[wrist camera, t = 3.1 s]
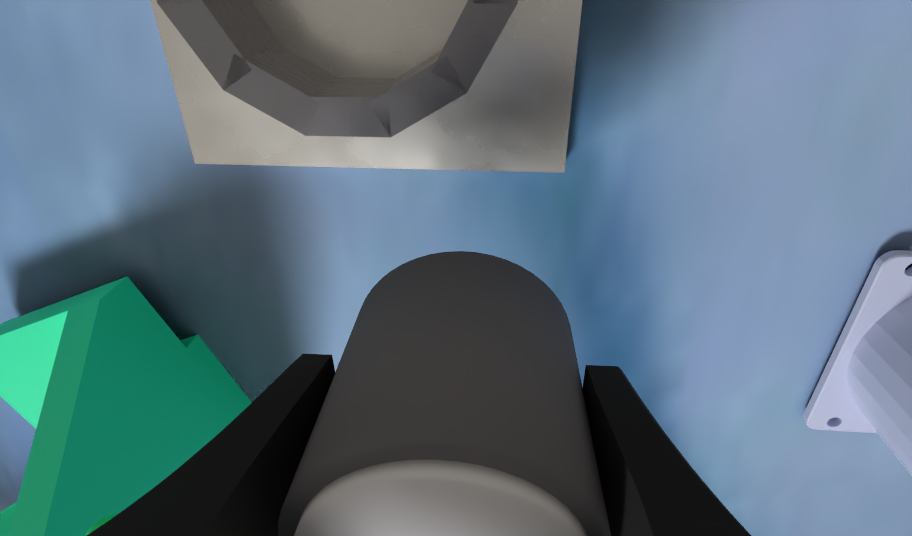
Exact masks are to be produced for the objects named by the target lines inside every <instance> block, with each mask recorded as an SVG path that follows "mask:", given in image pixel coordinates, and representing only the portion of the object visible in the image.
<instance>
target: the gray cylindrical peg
mask: <svg viewBox="0 0 912 536" xmlns="http://www.w3.org/2000/svg"><path fill="white" fill-rule="evenodd" d="M278 536H611V532H610V527H609V522H608V517H607V512H606V506H605V501H604V496H603V491H602V486H601V481H600V476H599V471H598V465H597V460H596V455H595V450H594V445H593V440H592V435H591V430H590V424H589V419H588V414H587V409H586V404H585V399H584V394H583V389H582V383H581V378H580V373H579V368H578V363H577V358H576V353H575V348H574V342H573V337H572V332H571V327H570V323H569V320H568V317H567V314H566V312H565V310H564V308H563V306H562V304H561V302H560V301H559V299H558V298H557V297H556V295H555V294H554V292H553V291H552V290H551V289H550V288H549V287H548V286H547V285H546V284H545V283H544V282H543V281H541V280H540V279H539V278H538V277H536V276H535V275H534V274H533V273H531V272H529V271H528V270H526V269H524V268H523V267H521V266H519V265H517V264H515V263H512V262H510V261H508V260H505V259H502V258H499V257H495V256H492V255H487V254H482V253H477V252H463V251H457V252H442V253H436V254H430V255H427V256H423V257H420V258H416V259H414V260H411V261H409V262H407V263H404V264H402V265H401V266H399V267H397V268H396V269H394V270H392V271H391V272H389V273H388V274H387V275H386V276H384V277H383V278H382V279H381V280H380V281H379V282H378V283H377V284H376V285H375V286H374V287H373V288H372V290H371V291H370V293H369V294H368V296H367V297H366V299H365V301H364V303H363V305H362V307H361V310H360V312H359V315H358V317H357V320H356V322H355V325H354V327H353V330H352V332H351V335H350V337H349V340H348V342H347V345H346V347H345V350H344V352H343V355H342V357H341V360H340V362H339V365H338V368H337V370H336V373H335V375H334V378H333V380H332V383H331V385H330V388H329V390H328V393H327V395H326V398H325V400H324V403H323V405H322V408H321V410H320V413H319V415H318V418H317V420H316V423H315V425H314V428H313V431H312V433H311V436H310V438H309V441H308V443H307V446H306V448H305V451H304V453H303V456H302V458H301V461H300V463H299V466H298V468H297V471H296V473H295V476H294V478H293V481H292V483H291V486H290V489H289V491H288V494H287V496H286V499H285V501H284V504H283V506H282V509H281V512H280V516H279V521H278Z"/></svg>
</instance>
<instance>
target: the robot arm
mask: <svg viewBox="0 0 912 536" xmlns="http://www.w3.org/2000/svg"><path fill="white" fill-rule="evenodd" d="M910 264H912V251H907V250H894V251H889V252H887V253H884V254H883V255H881V256H880V257H879V258H878V259H877V260H876V262H875V263H874V265H873V267H872V270H871V272H870V274H869V276H868V278H867V280H866V282H865V284H864V287H863V289H862V291H861V293H860V295H859V297H858V299H857V301H856V304H855V306H854V308H853V310H852V312H851V314H850V316H849V318H848V321H847V323H846V325H845V327H844V329H843V331H842V333H841V335H840V338H839V340H838V342H837V344H836V346H835V348H834V350H833V352H832V354H831V357H830V359H829V361H828V363H827V365H826V367H825V369H824V371H823V374H822V376H821V378H820V380H819V382H818V384H817V386H816V388H815V391H814V393H813V395H812V397H811V399H810V401H809V403H808V405H807V408H806V410H805V412H804V414H803V419H804V421H805V422H806V424H807V425H808V427H810V428H812V429H818V430H835V431H852V432H869V433H878V434H879V435H880V436H881V438H882V439H883V440H884V441H885V443H886V444H887V445H888V447H889V448H890V449H891V450H892V452H893V453H894V454H895V455H896V457H897V458H898V459H899V461H900V462H901V463H902V464H903V466H904V467H905V468H906V469H907V471H908V472H909V473H910V475H911V476H912V267H910V268H909V269H907V270H905V269H906V267H907V266H908V265H910ZM334 375H335V370H334V364H333V358H332V355H320V354H302V355H301V356H300V357H299V358H298V359H297V360H296V361H295V362H294V363H292V364H291V365H290V366H289V367H288V368H287V369H286V370H285V371H284V372H283V373H282V374H281V375H280V376H279V377H278V378H277V379H276V380H275V381H274V382H273V383H272V384H271V385H270V386H269V387H268V388H267V389H266V390H265V391H264V392H262V393H261V394H260V395H259V396H258V397H257V398H256V399H255V400H254V401H253V402H252V403H251V404H250V405H249V406H248V407H247V408H246V409H245V410H244V411H242V412H241V413H240V414H239V415H238V416H237V417H236V418H235V419H234V420H233V421H232V422H231V423H230V424H228V425H227V426H226V427H225V428H224V429H223V430H222V431H221V432H220V433H219V434H218V435H216V436H215V437H214V438H213V439H212V440H211V441H209V442H208V443H207V444H206V445H205V446H204V447H202V448H201V449H200V450H199V451H198V452H197V453H195V454H194V455H193V456H192V457H191V458H190V459H188V460H187V461H186V462H185V463H184V464H183V465H181V466H180V467H179V468H178V469H177V470H175V471H174V472H173V473H172V474H171V475H169V476H168V477H167V478H166V479H164V480H163V481H162V482H160V483H159V484H158V485H157V486H155V487H154V488H153V489H151V490H150V491H149V492H147V493H146V494H145V495H143V496H142V497H141V498H139V499H138V500H137V501H135V502H134V503H133V504H131V505H130V506H128V507H127V508H126V509H124V510H123V511H122V512H120V513H119V514H118V515H116V516H115V517H113V518H112V519H110V520H109V521H108V522H106V523H105V524H103V525H102V526H100V527H99V528H97V529H96V530H94V531H93V532H91V533H90V534H88V535H87V536H278V521H279V516H280V512H281V509H282V506H283V504H284V501H285V499H286V496H287V494H288V491H289V489H290V486H291V483H292V481H293V478H294V476H295V473H296V471H297V468H298V466H299V463H300V461H301V458H302V456H303V453H304V451H305V448H306V446H307V443H308V441H309V438H310V436H311V433H312V431H313V428H314V425H315V423H316V420H317V418H318V415H319V413H320V410H321V408H322V405H323V403H324V400H325V398H326V395H327V393H328V390H329V388H330V385H331V383H332V380H333V378H334ZM583 394H584V399H585V404H586V409H587V414H588V419H589V424H590V430H591V435H592V440H593V445H594V450H595V455H596V460H597V465H598V471H599V476H600V481H601V486H602V491H603V496H604V501H605V506H606V512H607V517H608V522H609V527H610V532H611V536H751V535H750V534H749V533H748V532H747V531H746V530H745V528H744V527H743V526H742V525H741V524H740V523H739V522H738V521H737V520H736V519H735V518H734V516H733V515H732V514H731V513H730V512H729V511H728V510H727V509H726V507H725V506H724V505H723V504H722V503H721V502H720V501H719V499H718V498H717V497H716V496H715V495H714V494H713V492H712V491H711V490H710V489H709V488H708V487H707V485H706V484H705V483H704V482H703V481H702V479H701V478H700V477H699V476H698V475H697V473H696V472H695V471H694V470H693V468H692V467H691V466H690V465H689V463H688V462H687V461H686V460H685V458H684V457H683V456H682V454H681V453H680V452H679V450H678V449H677V448H676V447H675V445H674V444H673V443H672V441H671V440H670V439H669V438H668V436H667V435H666V434H665V432H664V431H663V430H662V428H661V427H660V425H659V424H658V423H657V421H656V420H655V419H654V417H653V416H652V414H651V413H650V411H649V410H648V409H647V407H646V406H645V404H644V403H643V401H642V400H641V399H640V397H639V396H638V394H637V393H636V391H635V390H634V388H633V387H632V385H631V384H630V382H629V381H628V379H627V378H626V376H625V374H624V373H623V371H622V370H621V369H620V368H619V367H617V366H593V365H586V369H585V376H584V383H583Z"/></svg>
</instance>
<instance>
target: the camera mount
mask: <svg viewBox="0 0 912 536" xmlns="http://www.w3.org/2000/svg"><path fill="white" fill-rule="evenodd" d="M0 396H1V397H2V398H3V399H4V400H5V401H6V402H7V403H8V404H10V405H11V406H12V407H13V408H14V409H15V410H16V411H17V412H18V413H19V414H20V415H22V416H23V417H24V418H25V419H26V420H27V421H28V422H29V423H30V424H31V425H32V426H34V427H35V428H36V432H35V436H34V440H33V443H32V447H31V451H30V455H29V458H28V462H27V466H26V470H25V473H24V477H23V481H22V485H21V488H20V492H19V496H18V500H17V502H16V503H14V504H12V505H10V506H9V507H7V508H6V509H4V510H3V511H1V512H0V536H87V535H88V534H90V533H91V532H93V531H94V530H96V529H97V528H99V527H100V526H102V525H103V524H105V523H106V522H108V521H109V520H110V519H112V518H113V517H115V516H116V515H118V514H119V513H120V512H122V511H123V510H124V509H126V508H127V507H128V506H130V505H131V504H133V503H134V502H135V501H137V500H138V499H139V498H141V497H142V496H143V495H145V494H146V493H147V492H149V491H150V490H151V489H153V488H154V487H155V486H157V485H158V484H159V483H160V482H162V481H163V480H164V479H166V478H167V477H168V476H169V475H171V474H172V473H173V472H174V471H175V470H177V469H178V468H179V467H180V466H181V465H183V464H184V463H185V462H186V461H187V460H188V459H190V458H191V457H192V456H193V455H194V454H195V453H197V452H198V451H199V450H200V449H201V448H202V447H204V446H205V445H206V444H207V443H208V442H209V441H211V440H212V439H213V438H214V437H215V436H216V435H218V434H219V433H220V432H221V431H222V430H223V429H224V428H225V427H226V426H227V425H228V424H230V423H231V422H232V421H233V420H234V419H235V418H236V417H237V416H238V415H239V414H240V413H241V412H242V411H244V410H245V409H246V408H247V407H248V406H249V405H250V404H251V403H252V402H251V401H250V399H249V398H248V397H247V396H246V394H245V393H244V392H243V391H242V389H241V388H240V387H239V386H238V384H237V383H236V382H235V381H234V379H233V378H232V377H231V376H230V374H229V373H228V372H227V370H226V369H225V368H224V367H223V365H222V364H221V363H220V362H219V360H218V359H217V358H216V357H215V355H214V354H213V353H212V352H211V350H210V349H209V348H208V347H207V345H206V344H205V343H204V342H203V340H202V339H201V338H200V336H199V335H195V336H191V337H188V338H185V339H182V340H179V339H178V337H177V336H176V335H175V334H174V333H173V331H172V330H171V329H170V328H169V326H168V325H167V324H166V323H165V322H164V320H163V319H162V318H161V317H160V315H159V314H158V313H157V312H156V311H155V309H154V308H153V307H152V306H151V304H150V303H149V302H148V301H147V300H146V298H145V297H144V296H143V295H142V293H141V292H140V291H139V290H138V289H137V287H136V286H135V285H134V284H133V282H132V281H131V280H130V279H129V278H128V276H127V277H124V278H121V279H119V280H116V281H113V282H111V283H108V284H105V285H103V286H100V287H97V288H95V289H92V290H89V291H86V292H84V293H81V294H78V295H76V296H73V297H70V298H68V299H65V300H62V301H60V302H57V303H54V304H52V305H49V306H46V307H43V308H41V309H38V310H35V311H33V312H30V313H27V314H25V315H22V316H19V317H17V318H14V319H11V320H9V321H6V322H4V323H2V324H1V325H0Z"/></svg>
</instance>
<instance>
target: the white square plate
mask: <svg viewBox="0 0 912 536" xmlns="http://www.w3.org/2000/svg"><path fill="white" fill-rule="evenodd" d="M150 1H151V4H152V8H153V12H154V15H155V19H156V23H157V26H158V30H159V34H160V37H161V41H162V45H163V48H164V52H165V56H166V59H167V63H168V67H169V70H170V74H171V78H172V81H173V85H174V89H175V92H176V96H177V100H178V103H179V107H180V111H181V114H182V118H183V122H184V125H185V129H186V132H187V136H188V140H189V143H190V147H191V151H192V154H193V158H194V162H195V164H229V165H271V166H312V167H354V168H396V169H438V170H480V171H521V172H563V173H564V170H565V161H566V151H567V142H568V133H569V123H570V114H571V104H572V95H573V85H574V76H575V67H576V57H577V48H578V38H579V29H580V19H581V10H582V0H150Z"/></svg>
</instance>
